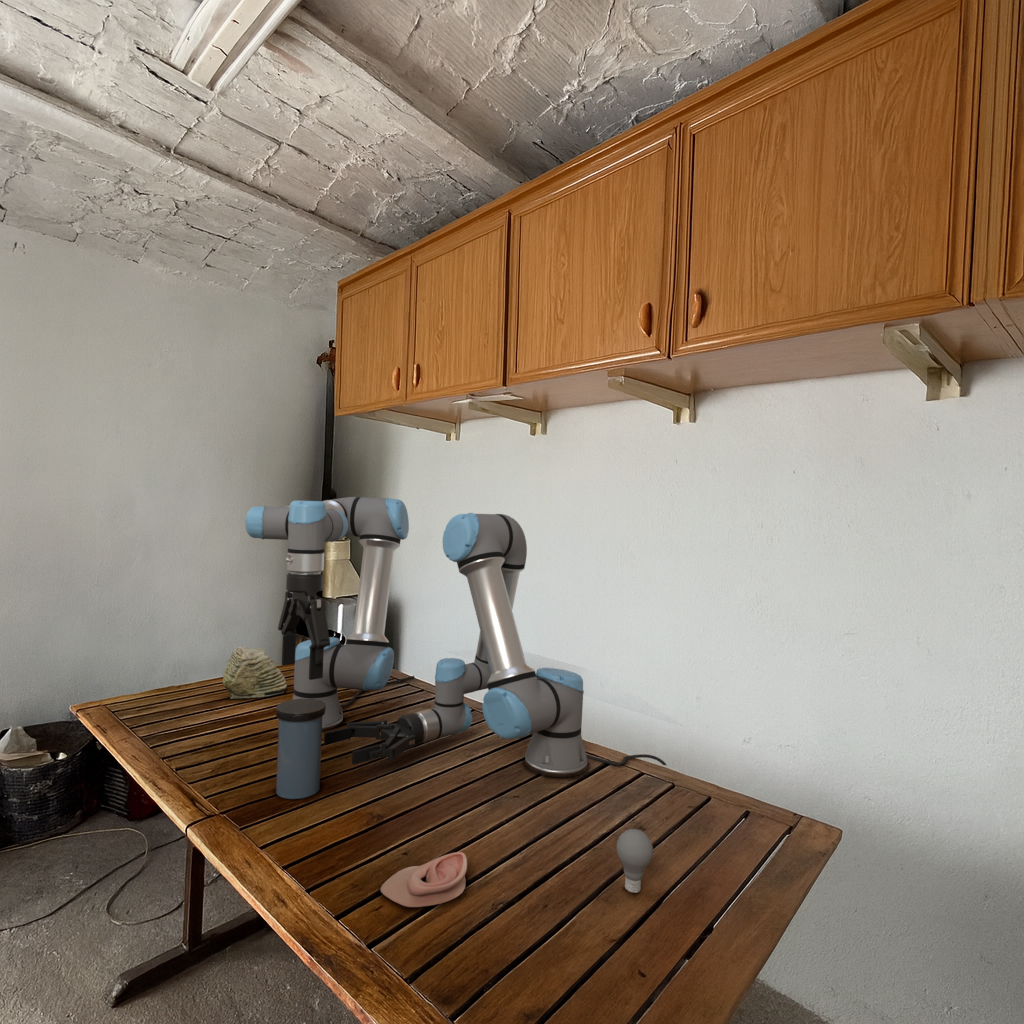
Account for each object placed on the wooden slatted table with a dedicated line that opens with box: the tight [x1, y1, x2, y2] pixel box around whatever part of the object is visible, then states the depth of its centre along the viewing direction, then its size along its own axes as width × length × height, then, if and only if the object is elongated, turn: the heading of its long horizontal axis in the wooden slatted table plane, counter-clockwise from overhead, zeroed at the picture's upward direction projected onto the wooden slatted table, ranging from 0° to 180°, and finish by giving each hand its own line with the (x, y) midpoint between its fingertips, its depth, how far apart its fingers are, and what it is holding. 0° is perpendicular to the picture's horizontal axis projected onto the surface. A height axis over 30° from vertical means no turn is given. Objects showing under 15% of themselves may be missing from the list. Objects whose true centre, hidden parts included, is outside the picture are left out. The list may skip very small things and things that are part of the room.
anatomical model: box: [380, 851, 468, 908], centre depth 104 cm, size 13×4×12 cm
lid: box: [275, 698, 326, 722], centre depth 136 cm, size 10×10×2 cm
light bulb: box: [615, 828, 654, 894], centre depth 106 cm, size 6×6×10 cm
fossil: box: [222, 646, 288, 699], centre depth 198 cm, size 9×18×15 cm, turn 132°
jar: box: [275, 716, 323, 800], centre depth 137 cm, size 9×9×18 cm
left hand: (301, 671), depth 136 cm, fingers open, 13 cm apart
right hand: (338, 748), depth 144 cm, fingers open, 13 cm apart
